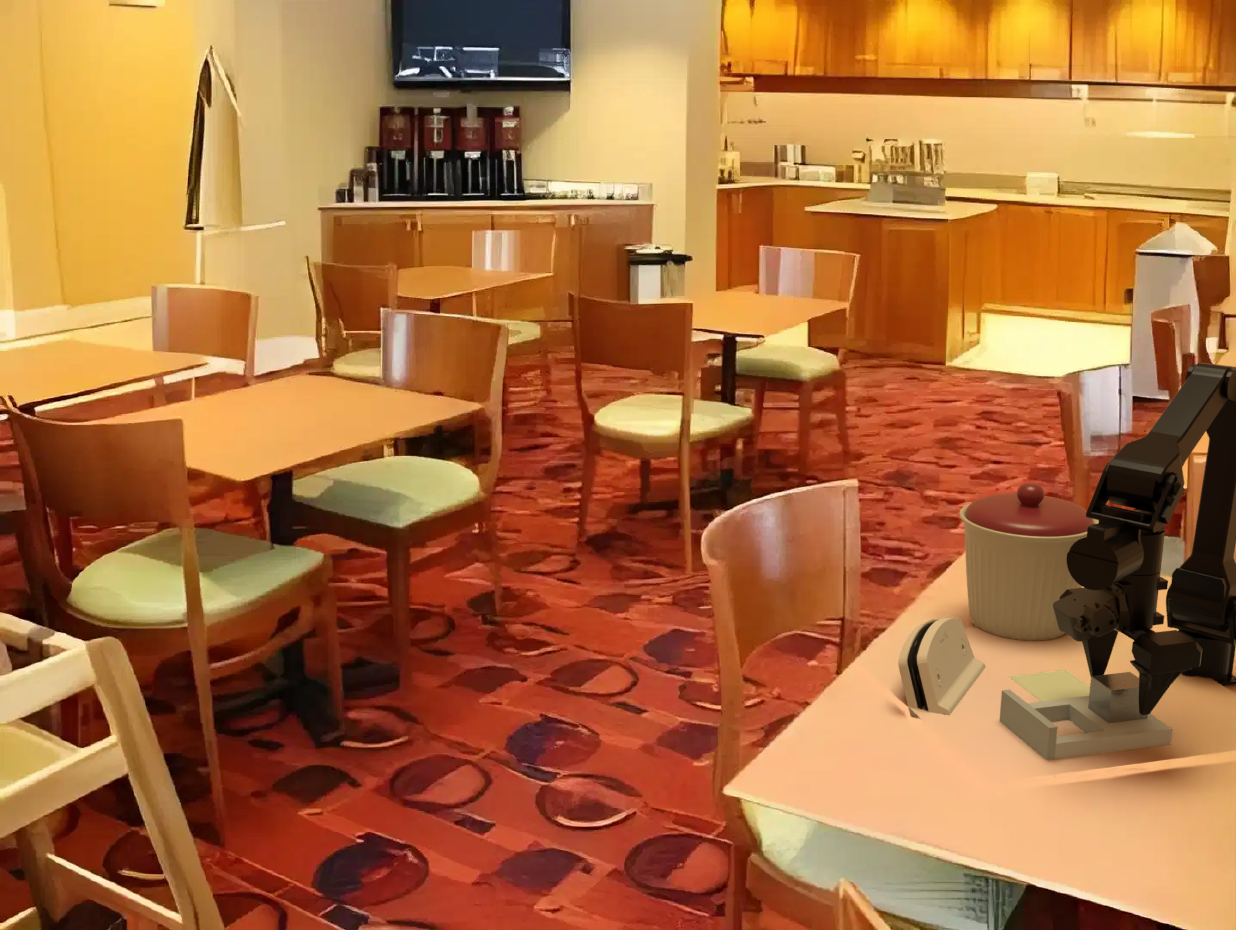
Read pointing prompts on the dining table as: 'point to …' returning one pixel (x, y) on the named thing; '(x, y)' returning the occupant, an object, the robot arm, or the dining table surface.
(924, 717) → the dining table surface
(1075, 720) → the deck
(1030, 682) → the pad
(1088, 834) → the dining table surface
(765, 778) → the dining table surface
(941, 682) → the beige half-round holder
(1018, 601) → the canister
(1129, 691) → the block
